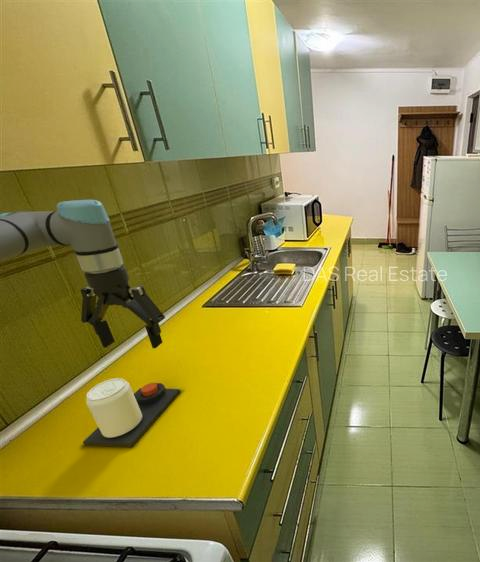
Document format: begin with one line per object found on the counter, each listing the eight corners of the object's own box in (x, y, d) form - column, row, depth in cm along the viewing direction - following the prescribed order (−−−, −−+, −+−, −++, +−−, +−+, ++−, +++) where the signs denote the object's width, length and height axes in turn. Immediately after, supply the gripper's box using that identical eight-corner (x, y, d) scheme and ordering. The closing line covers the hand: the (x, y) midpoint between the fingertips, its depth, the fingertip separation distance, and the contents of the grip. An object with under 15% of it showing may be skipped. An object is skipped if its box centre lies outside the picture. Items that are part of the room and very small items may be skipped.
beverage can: (134, 408, 81) (119, 372, 77) (149, 421, 77) (133, 384, 73) (97, 429, 75) (78, 392, 70) (110, 445, 71) (91, 406, 66)
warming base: (132, 446, 72) (128, 437, 71) (84, 445, 73) (79, 436, 71) (181, 391, 89) (178, 383, 88) (141, 390, 89) (138, 382, 88)
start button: (152, 396, 83) (150, 391, 83) (139, 396, 83) (137, 391, 83) (161, 387, 87) (159, 382, 86) (149, 387, 87) (147, 382, 86)
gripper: (166, 263, 74) (187, 337, 82) (69, 262, 75) (100, 336, 83) (143, 274, 67) (169, 354, 75) (37, 273, 68) (74, 352, 76)
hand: (133, 345), depth 79 cm, fingers open, 12 cm apart
